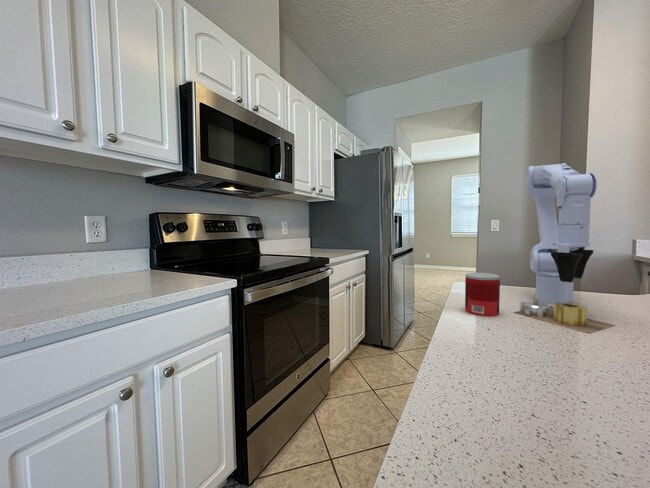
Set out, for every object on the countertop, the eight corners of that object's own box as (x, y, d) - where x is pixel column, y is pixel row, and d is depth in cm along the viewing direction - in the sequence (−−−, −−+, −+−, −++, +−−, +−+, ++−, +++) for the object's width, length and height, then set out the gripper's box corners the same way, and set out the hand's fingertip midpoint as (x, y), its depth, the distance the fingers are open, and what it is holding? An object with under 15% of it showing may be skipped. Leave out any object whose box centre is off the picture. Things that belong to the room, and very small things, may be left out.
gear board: (538, 310, 78) (538, 294, 78) (615, 329, 63) (616, 310, 63) (512, 316, 74) (512, 299, 73) (589, 338, 59) (589, 317, 59)
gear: (529, 307, 77) (530, 300, 77) (558, 315, 71) (559, 306, 71) (513, 311, 74) (513, 303, 74) (542, 319, 68) (542, 310, 68)
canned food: (505, 320, 71) (506, 277, 70) (473, 320, 71) (474, 277, 70) (488, 310, 79) (489, 272, 78) (459, 311, 79) (460, 272, 78)
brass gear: (589, 323, 65) (590, 306, 65) (580, 328, 62) (581, 310, 62) (559, 316, 70) (559, 300, 69) (549, 321, 67) (550, 304, 66)
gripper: (562, 224, 75) (560, 274, 76) (542, 225, 67) (540, 281, 68) (598, 224, 70) (595, 277, 71) (581, 225, 61) (578, 285, 62)
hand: (571, 279), depth 69 cm, fingers open, 7 cm apart
